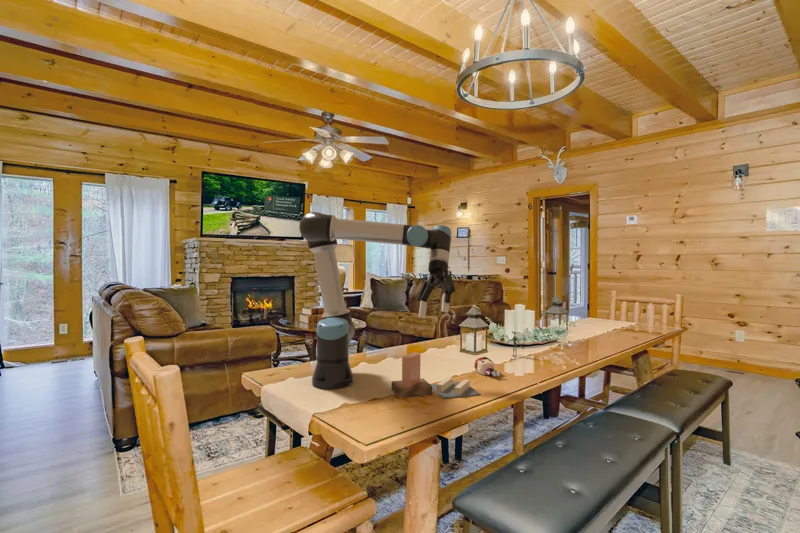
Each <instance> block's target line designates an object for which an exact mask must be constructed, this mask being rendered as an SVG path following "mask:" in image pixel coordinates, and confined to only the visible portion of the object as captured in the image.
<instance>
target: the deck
mask: <svg viewBox="0 0 800 533" xmlns="http://www.w3.org/2000/svg"><path fill="white" fill-rule="evenodd" d="M390 390H391V392H393V394H394V395H395V396H396V398H397V399H404V398H405V399H406V398H416V397H427V396H433V390H432V386H431V385H430V383H429V382H428V381H427V380H426V379H424V378H420V382H418V383H417V384H415V385H414V386H412V387H410V388H408V387H403V386H402V379H401V380H391V383H390Z"/></svg>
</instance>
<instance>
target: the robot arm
mask: <svg viewBox="0 0 800 533" xmlns="http://www.w3.org/2000/svg"><path fill="white" fill-rule="evenodd" d="M298 226H299V228H298V229H299V233H300V235H301V236H302V238H303V239H305V240H306V241H307V246H308V250H309V251H310V252H311V253H313V257H314V263H315V268H316V273H317V278H318V279H317V280H318V285H319V288H320V289H319V290H320V295H321V302H322V305H323V310H324V311H323V313H322V315H321V319H320V320H319V321H318V322H317V324H316V365H315V367H314V371H313V372H312V373H313V374H312V376H311V385H312V386H314V387H315V388H319V389H323V390H324V389H326V390H330V389H333V390H335V389H342V388H345V387H348V386H351V385H352V384H353V383H354V375H353V371H352V368H351V365H350V362H349V344H350V342H351V341H352V340H353V339H354V336H355V333H356V326H355V323H354V321H353V319H352V316H351V310H350V309H348V308H347V307H346V303H345V298H344V292H343V288H342V283H341V282H342V280H341V277H340V271H339V265H338V260H337V255H336V251H335V250H336V248H337V247H338V241H337V240H344V241H345V240H346V241H356V242H357V241H358V242H366V243H367V242H369V243H381V244H390V245H401V246H408V247H415V248H423V249H429V250H430V253H429V263H428V272H429V277H426V276H425V277H424V278H423V283H422V285H421V287H420V290H419V293H418V295H417V297H416V301H418V302H419V305H418V306H419V308H418V309H419V310H418V318H421V319H426V318H427V317H426V314H427V306H428V302H427V301H428V299H429V297H430V296H431V294H432V292H433V291H434V290H435V288H436V287H438V286H440V287H441V288H442V290H443V293H442V301H441V312H443V313H446V314H448V313H449V309H450V302H451V298H452V297H451V296H452V295H453V293H455V292H456V287H455V285H454V280H453V276H452V271H451V270H449V260H450V252H451V251H450V250H451V243H452V230H451V228H450V227H449V226H447V225H445V224H441V225H439V224H437V225H435V226H434V227H433V229H426V228H425V227H424V226H423V225H419V224H414V225H413V224H402V223H390V222H381V221H369V220H358V219H347V218H337V217H336V215H333V214H327V213H326V214H325V213H321V212H319V211H311V212H308V213H306V214H305V215H303V216H302V218H301V219H300V221H299V225H298Z"/></svg>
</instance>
